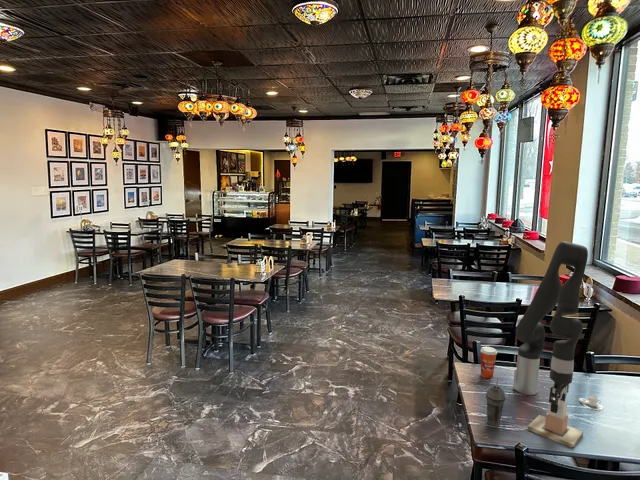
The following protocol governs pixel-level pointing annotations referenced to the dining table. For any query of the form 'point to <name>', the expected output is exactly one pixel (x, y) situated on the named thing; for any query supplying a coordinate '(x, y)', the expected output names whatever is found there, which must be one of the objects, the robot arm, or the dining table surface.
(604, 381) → the dining table surface
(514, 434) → the dining table surface
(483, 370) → the paper cup
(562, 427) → the terracotta cube
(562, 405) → the white cube
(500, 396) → the beverage cup
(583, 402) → the teacup and saucer
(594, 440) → the dining table surface
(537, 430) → the beige rectangular frame
